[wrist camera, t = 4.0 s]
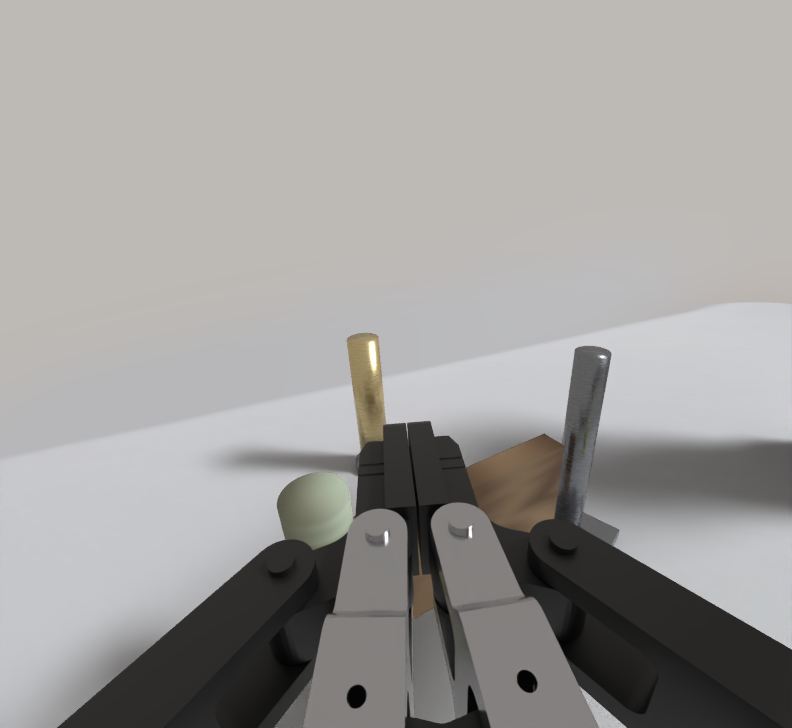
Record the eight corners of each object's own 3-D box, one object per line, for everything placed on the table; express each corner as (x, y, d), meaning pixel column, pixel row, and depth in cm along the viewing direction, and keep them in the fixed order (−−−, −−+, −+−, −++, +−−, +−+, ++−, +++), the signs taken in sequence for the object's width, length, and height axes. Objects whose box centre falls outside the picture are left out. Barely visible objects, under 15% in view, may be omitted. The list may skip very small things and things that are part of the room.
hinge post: (543, 500, 34) (564, 329, 27) (617, 537, 30) (663, 347, 23) (508, 543, 30) (523, 356, 23) (588, 592, 26) (632, 383, 20)
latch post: (377, 447, 42) (364, 328, 37) (403, 462, 40) (394, 336, 34) (349, 466, 40) (330, 340, 34) (375, 483, 37) (360, 350, 32)
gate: (525, 525, 30) (539, 389, 25) (559, 556, 27) (581, 410, 22) (310, 643, 23) (270, 487, 18) (327, 700, 20) (285, 536, 15)
